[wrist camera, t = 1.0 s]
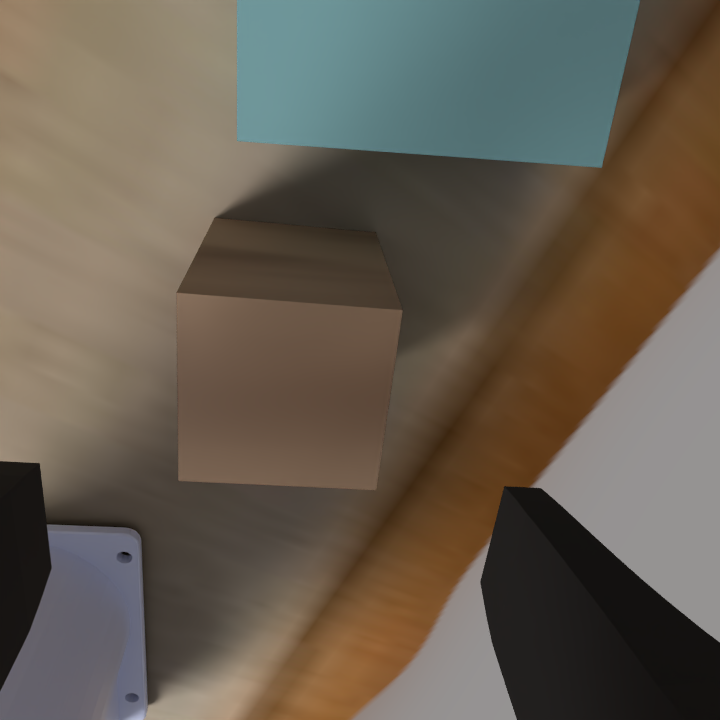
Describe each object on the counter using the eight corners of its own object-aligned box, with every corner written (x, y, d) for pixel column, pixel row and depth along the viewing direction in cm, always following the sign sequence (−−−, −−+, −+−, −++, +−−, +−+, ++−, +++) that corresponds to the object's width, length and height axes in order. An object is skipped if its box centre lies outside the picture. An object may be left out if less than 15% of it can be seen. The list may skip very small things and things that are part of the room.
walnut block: (358, 372, 21) (376, 489, 15) (212, 362, 20) (178, 481, 15) (375, 232, 19) (402, 310, 14) (215, 217, 18) (176, 292, 13)
